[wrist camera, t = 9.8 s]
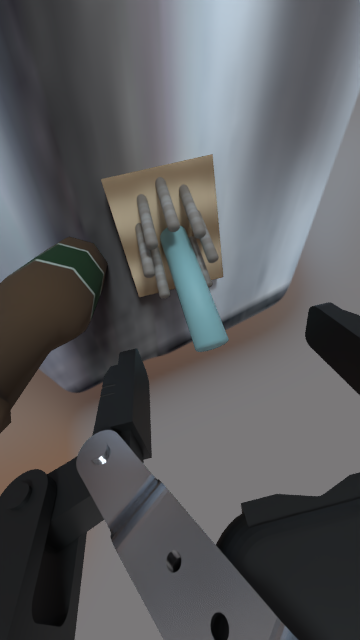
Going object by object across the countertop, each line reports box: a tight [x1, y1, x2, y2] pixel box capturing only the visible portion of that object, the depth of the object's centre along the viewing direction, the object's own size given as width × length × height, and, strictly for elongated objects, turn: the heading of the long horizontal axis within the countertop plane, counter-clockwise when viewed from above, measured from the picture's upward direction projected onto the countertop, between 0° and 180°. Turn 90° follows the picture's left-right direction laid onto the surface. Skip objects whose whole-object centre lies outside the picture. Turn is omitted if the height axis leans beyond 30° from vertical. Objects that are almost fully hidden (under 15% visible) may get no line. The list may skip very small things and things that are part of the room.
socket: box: [101, 154, 223, 299], centre depth 26 cm, size 14×12×9 cm
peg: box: [160, 226, 228, 352], centre depth 23 cm, size 3×3×14 cm
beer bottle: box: [0, 237, 107, 433], centre depth 20 cm, size 8×8×24 cm
